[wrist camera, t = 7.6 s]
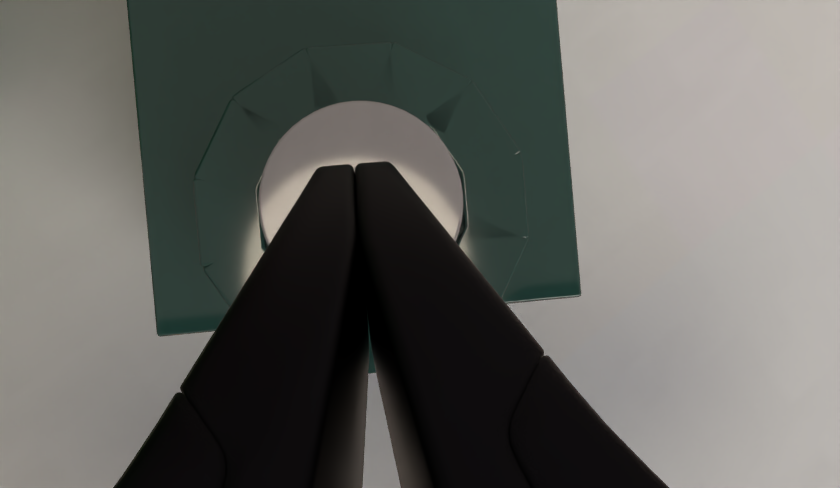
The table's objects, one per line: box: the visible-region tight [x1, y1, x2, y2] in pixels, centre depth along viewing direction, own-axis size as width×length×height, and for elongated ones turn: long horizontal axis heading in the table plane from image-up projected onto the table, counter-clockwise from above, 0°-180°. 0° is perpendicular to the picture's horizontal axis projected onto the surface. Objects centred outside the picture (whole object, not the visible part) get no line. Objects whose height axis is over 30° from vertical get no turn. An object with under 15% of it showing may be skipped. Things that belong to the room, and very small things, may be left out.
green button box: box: [127, 0, 581, 374], centre depth 17 cm, size 11×9×8 cm
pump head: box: [258, 101, 463, 245], centre depth 12 cm, size 3×3×2 cm
